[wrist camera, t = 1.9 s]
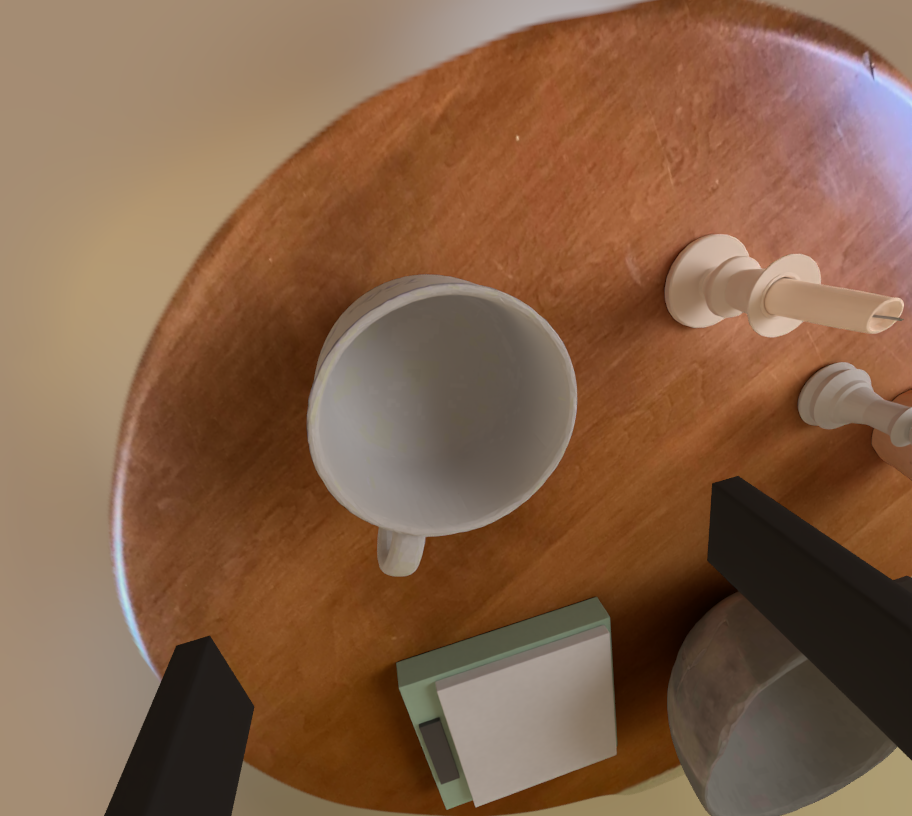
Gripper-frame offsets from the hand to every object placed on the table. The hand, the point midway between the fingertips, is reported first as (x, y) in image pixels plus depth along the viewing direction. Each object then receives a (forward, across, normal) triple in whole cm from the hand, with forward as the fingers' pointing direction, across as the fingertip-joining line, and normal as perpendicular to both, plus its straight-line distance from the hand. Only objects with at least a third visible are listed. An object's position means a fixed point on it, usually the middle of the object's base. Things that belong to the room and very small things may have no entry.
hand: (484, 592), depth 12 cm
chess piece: (+15, +28, -8) cm, 33 cm away
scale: (+15, +2, -29) cm, 32 cm away
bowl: (+15, +22, -29) cm, 39 cm away
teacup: (+15, 0, 0) cm, 15 cm away
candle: (+15, +18, +2) cm, 23 cm away
